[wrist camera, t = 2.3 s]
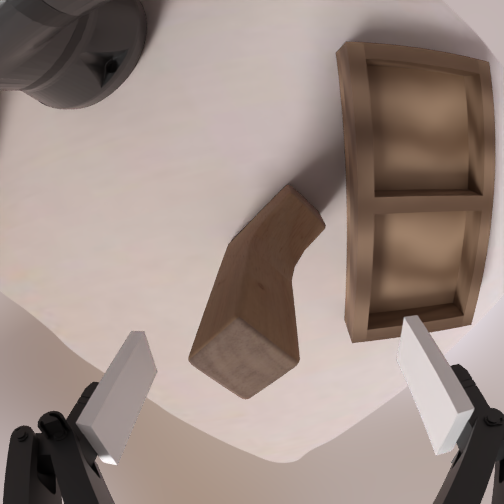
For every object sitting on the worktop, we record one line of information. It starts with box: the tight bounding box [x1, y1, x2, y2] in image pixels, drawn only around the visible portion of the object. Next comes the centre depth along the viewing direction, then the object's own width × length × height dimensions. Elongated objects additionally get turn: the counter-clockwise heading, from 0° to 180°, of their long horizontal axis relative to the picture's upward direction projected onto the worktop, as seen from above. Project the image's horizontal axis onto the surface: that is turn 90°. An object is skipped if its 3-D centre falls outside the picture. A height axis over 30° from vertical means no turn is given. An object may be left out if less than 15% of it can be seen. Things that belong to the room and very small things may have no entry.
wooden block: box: [188, 185, 326, 399], centre depth 24 cm, size 9×4×18 cm, turn 137°
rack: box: [336, 42, 495, 343], centre depth 28 cm, size 28×15×4 cm, turn 5°
